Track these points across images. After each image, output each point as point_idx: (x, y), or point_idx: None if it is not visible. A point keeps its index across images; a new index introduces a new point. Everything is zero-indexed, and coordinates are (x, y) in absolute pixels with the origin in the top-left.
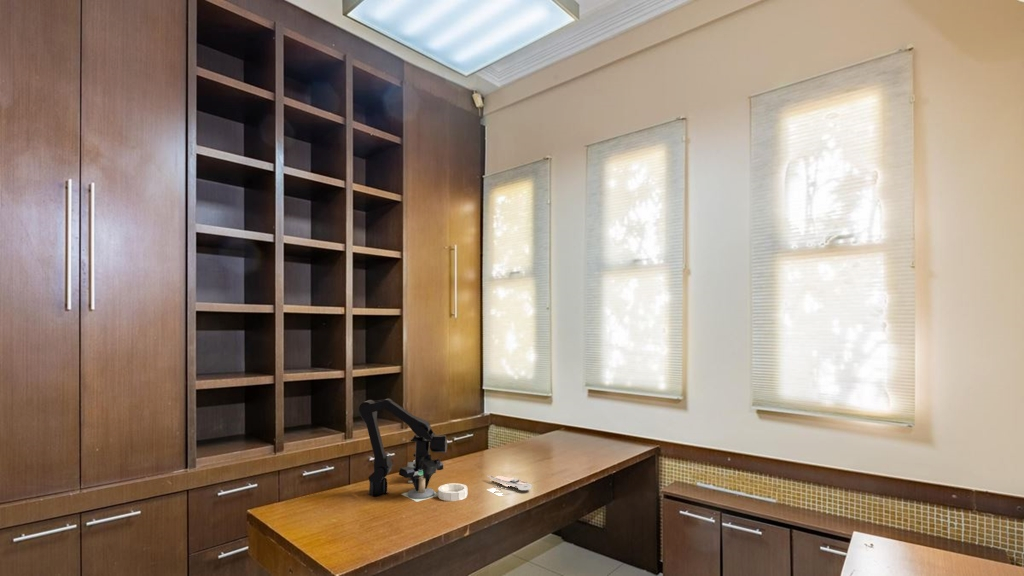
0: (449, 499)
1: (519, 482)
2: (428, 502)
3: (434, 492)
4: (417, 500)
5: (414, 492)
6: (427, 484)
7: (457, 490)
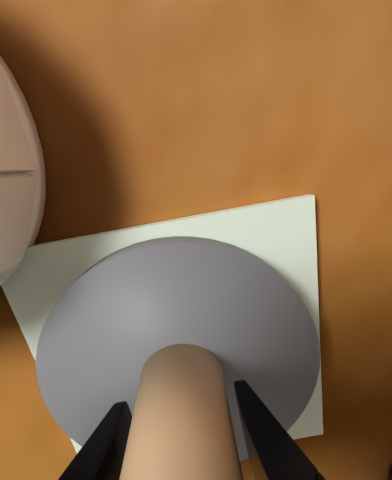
0: None
1: None
2: (195, 133)
3: None
4: (288, 225)
5: None
6: (87, 450)
7: None
